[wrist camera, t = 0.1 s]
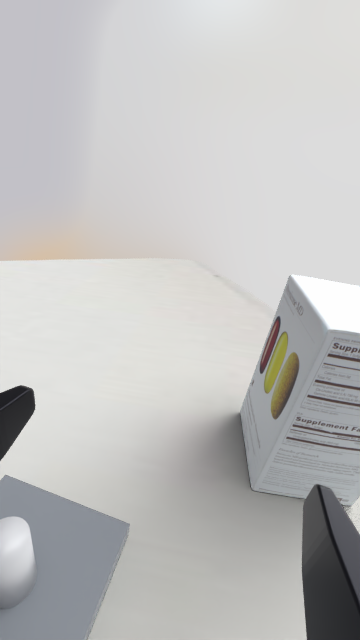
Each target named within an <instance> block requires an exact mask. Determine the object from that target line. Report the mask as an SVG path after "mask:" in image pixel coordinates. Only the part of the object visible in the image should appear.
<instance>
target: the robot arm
mask: <svg viewBox="0 0 360 640" xmlns="http://www.w3.org/2000/svg"><path fill="white" fill-rule="evenodd" d="M34 410H35V398H34V391H33V389H32V388H29V387H26V386H22V385H20V386H17V387H14V388H12V389H9V390H7V391H4V392H2V393H0V461H1V459H2V458H3V457H4V455H5V454H6V453H7V451H8V450H9V449H10V447H11V446H12V444H13V443H14V441H15V440H16V438H17V437H18V435H19V434H20V432H21V431H22V429H23V428H24V426H25V425H26V423H27V422H28V420H29V419H30V418H31V416H32V415H33V413H34ZM302 580H303V593H304V606H305V619H306V632H307V640H360V534H359V533H358V531H357V529H356V528H355V526H354V525H353V523H352V521H351V520H350V518H349V516H348V515H347V513H346V511H345V510H344V508H343V507H342V505H341V503H340V502H339V500H338V498H337V497H336V495H335V493H334V492H333V491H332V489H330V488H328V487H326V486H323V485H320V484H315V485H314V486H313V488H312V489H311V491H310V493H309V494H308V496H307V498H306V499H305V502H304V506H303V538H302Z"/></svg>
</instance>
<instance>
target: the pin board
mask: <svg viewBox="0 0 360 640" xmlns="http://www.w3.org/2000/svg"><path fill="white" fill-rule="evenodd" d="M129 525H130V524H128V523H126V522H123V521H121V520H118V519H116V518H113V517H111V516H108V515H105V514H103V513H100V512H98V511H95V510H93V509H90V508H88V507H85V506H83V505H80V504H78V503H75V502H73V501H70V500H68V499H65V498H63V497H60V496H58V495H55V494H53V493H50V492H48V491H45V490H43V489H40V488H38V487H35V486H33V485H30V484H28V483H25V482H23V481H20V480H18V479H15V478H13V477H10V476H8V475H5V476H4V477H3V478H2V479H1V480H0V640H87V639H88V636H89V634H90V631H91V629H92V626H93V624H94V621H95V619H96V616H97V613H98V611H99V608H100V606H101V603H102V601H103V598H104V596H105V593H106V590H107V588H108V585H109V583H110V580H111V578H112V575H113V572H114V570H115V567H116V565H117V562H118V560H119V557H120V555H121V552H122V549H123V547H124V544H125V542H126V539H127V537H128V532H129Z"/></svg>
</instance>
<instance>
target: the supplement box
mask: <svg viewBox="0 0 360 640" xmlns="http://www.w3.org/2000/svg"><path fill="white" fill-rule="evenodd" d="M240 414H241V421H242V428H243V435H244V442H245V449H246V456H247V463H248V470H249V477H250V483H251V488H252V490H254V491H259V492H265V493H271V494H278V495H284V496H290V497H297V498H304V499H306V498H307V496H308V494H309V493H310V491H311V489H312V488H313V486H314V485H315V484H320V485H323V486H326V487H328V488H330V489H332V491H333V492H334V493H335V495H336V497H337V498H338V500H339V502H340V503H341V504H342V505H349V506H351V505H353V504H354V502H355V501H356V500H357V499H358V497H359V496H360V286H355V285H349V284H343V283H338V282H332V281H327V280H321V279H316V278H311V277H304V276H298V275H290V276H289V278H288V281H287V284H286V287H285V289H284V293H283V295H282V298H281V300H280V303H279V306H278V309H277V312H276V314H275V317H274V320H273V323H272V325H271V328H270V331H269V334H268V336H267V339H266V342H265V345H264V347H263V350H262V353H261V356H260V358H259V361H258V364H257V366H256V369H255V372H254V375H253V377H252V380H251V383H250V386H249V388H248V391H247V394H246V397H245V399H244V402H243V405H242V408H241V410H240Z"/></svg>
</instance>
